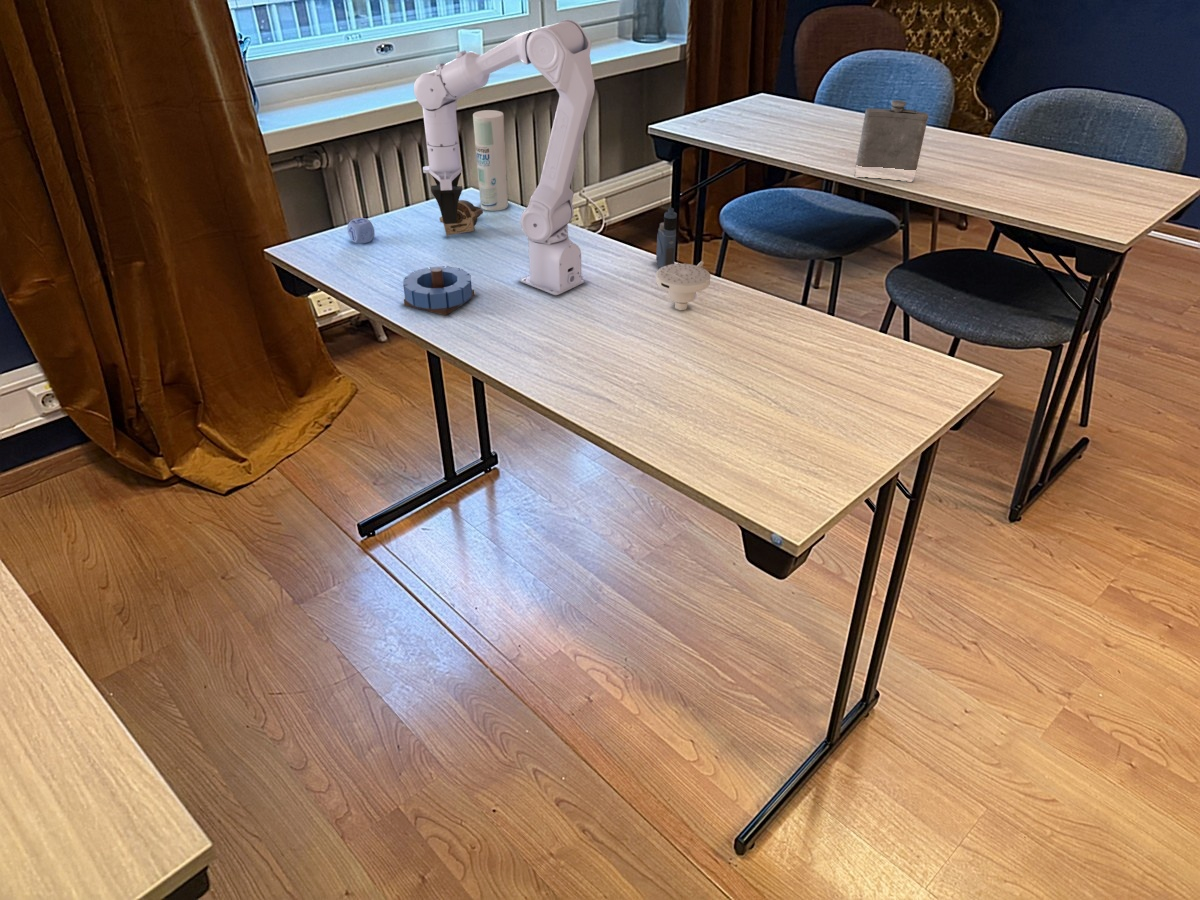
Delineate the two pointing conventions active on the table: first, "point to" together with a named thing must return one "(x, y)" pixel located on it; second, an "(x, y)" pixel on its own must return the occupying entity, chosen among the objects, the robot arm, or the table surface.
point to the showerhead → (683, 282)
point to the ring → (437, 297)
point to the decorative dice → (360, 230)
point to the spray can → (491, 159)
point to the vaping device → (666, 239)
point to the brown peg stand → (438, 283)
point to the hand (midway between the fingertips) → (449, 215)
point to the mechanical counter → (463, 218)
